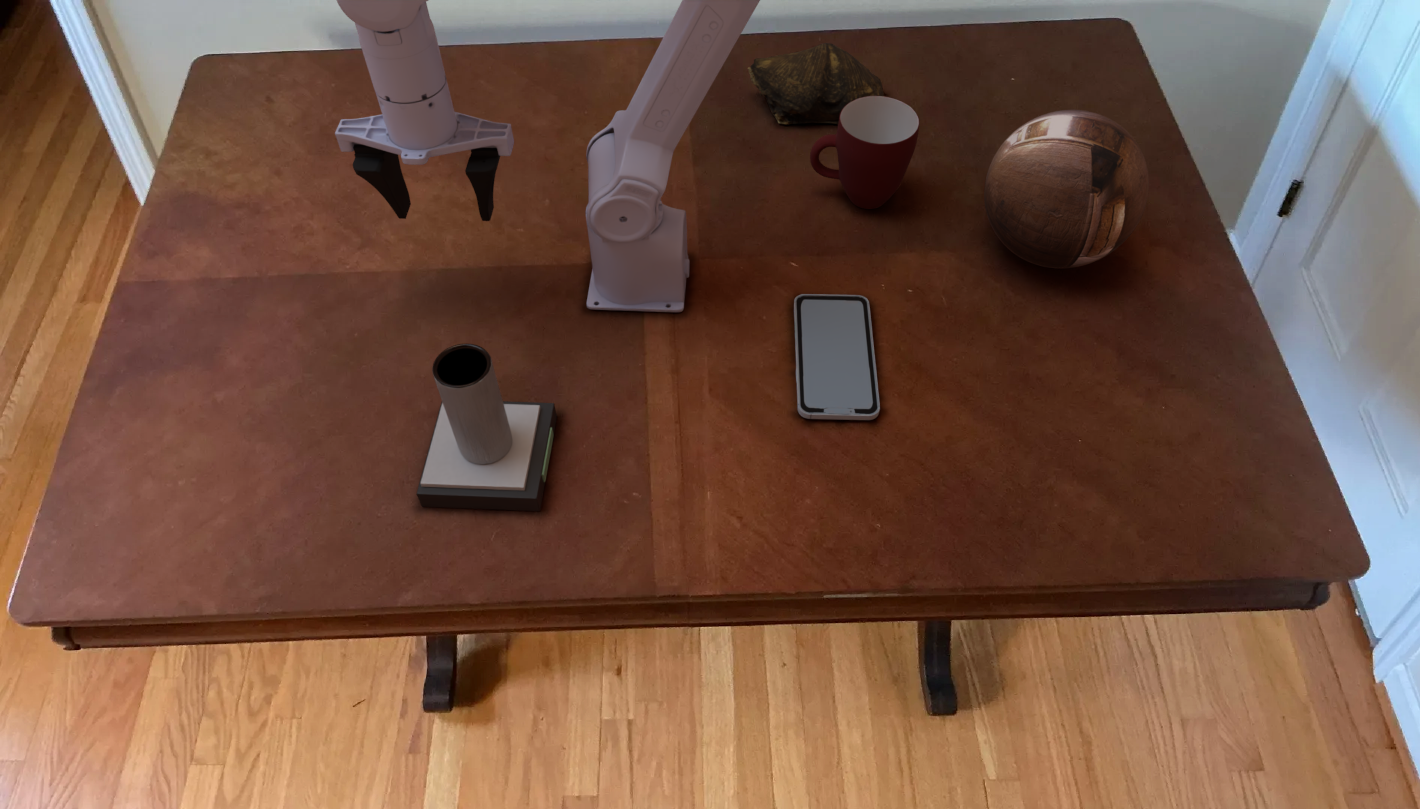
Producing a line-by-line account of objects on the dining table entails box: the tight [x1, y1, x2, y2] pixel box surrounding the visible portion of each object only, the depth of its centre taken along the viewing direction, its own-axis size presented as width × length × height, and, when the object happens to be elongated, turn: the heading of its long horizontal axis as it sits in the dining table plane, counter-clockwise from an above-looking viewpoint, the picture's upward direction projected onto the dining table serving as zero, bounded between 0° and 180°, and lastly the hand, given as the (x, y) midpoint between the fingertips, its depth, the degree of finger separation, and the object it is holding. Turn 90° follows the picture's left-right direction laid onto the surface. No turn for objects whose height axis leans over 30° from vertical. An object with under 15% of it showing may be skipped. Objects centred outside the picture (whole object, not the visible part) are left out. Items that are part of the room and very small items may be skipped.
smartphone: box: [793, 293, 881, 421], centre depth 93 cm, size 7×1×15 cm
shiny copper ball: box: [983, 109, 1150, 269], centre depth 97 cm, size 15×15×15 cm
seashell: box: [746, 42, 885, 125], centre depth 115 cm, size 16×9×7 cm, turn 91°
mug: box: [809, 95, 921, 210], centre depth 104 cm, size 11×8×10 cm
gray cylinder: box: [431, 343, 512, 465], centre depth 80 cm, size 4×4×10 cm
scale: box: [416, 400, 558, 512], centre depth 85 cm, size 10×10×2 cm
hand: (446, 212), depth 91 cm, fingers open, 7 cm apart
